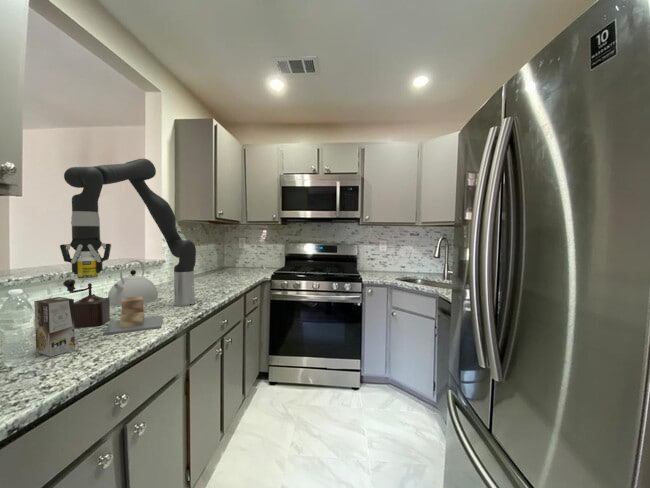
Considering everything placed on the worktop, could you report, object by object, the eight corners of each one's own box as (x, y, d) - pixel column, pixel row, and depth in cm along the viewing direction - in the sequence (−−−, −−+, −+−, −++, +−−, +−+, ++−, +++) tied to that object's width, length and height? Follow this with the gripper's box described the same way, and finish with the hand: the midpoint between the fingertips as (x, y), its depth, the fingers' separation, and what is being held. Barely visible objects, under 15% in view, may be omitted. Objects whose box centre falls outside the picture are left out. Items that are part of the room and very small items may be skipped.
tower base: (144, 320, 118) (143, 308, 118) (142, 325, 112) (142, 312, 111) (123, 322, 115) (123, 310, 114) (120, 327, 108) (120, 314, 108)
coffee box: (76, 349, 90) (74, 298, 89) (49, 357, 84) (48, 303, 83) (61, 344, 94) (59, 296, 93) (35, 352, 88) (33, 300, 87)
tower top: (142, 308, 118) (142, 296, 118) (143, 312, 112) (143, 299, 112) (121, 310, 114) (121, 298, 114) (121, 314, 108) (121, 301, 108)
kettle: (137, 308, 140) (136, 262, 140) (92, 307, 141) (91, 262, 140) (166, 297, 165) (165, 258, 165) (128, 296, 166) (127, 258, 165)
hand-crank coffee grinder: (111, 318, 123) (110, 276, 123) (101, 326, 113) (100, 280, 112) (67, 321, 118) (66, 278, 117) (52, 330, 108) (50, 283, 107)
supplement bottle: (81, 280, 96) (80, 251, 96) (75, 279, 99) (74, 251, 99) (100, 278, 101) (99, 251, 100) (94, 277, 104) (93, 250, 103)
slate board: (162, 317, 125) (162, 315, 125) (160, 328, 111) (160, 326, 111) (112, 323, 117) (112, 321, 116) (103, 335, 102) (103, 333, 102)
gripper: (113, 225, 106) (114, 270, 106) (62, 225, 99) (64, 273, 100) (109, 225, 99) (110, 273, 100) (54, 224, 92) (56, 276, 93)
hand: (87, 273), depth 100 cm, fingers closed on supplement bottle, 5 cm apart
